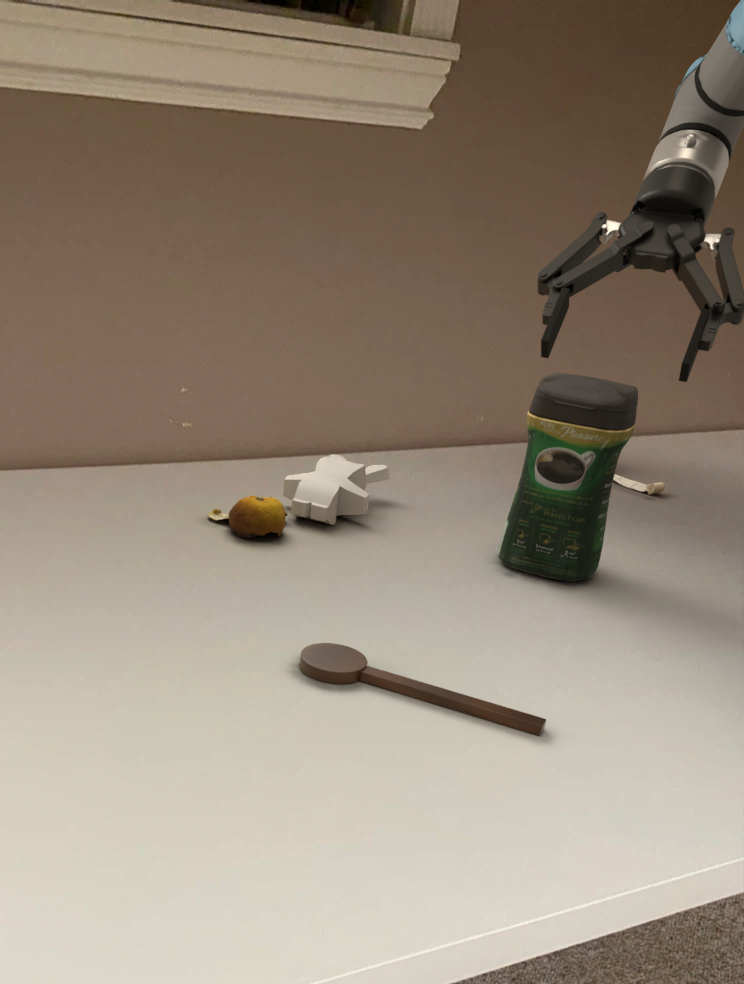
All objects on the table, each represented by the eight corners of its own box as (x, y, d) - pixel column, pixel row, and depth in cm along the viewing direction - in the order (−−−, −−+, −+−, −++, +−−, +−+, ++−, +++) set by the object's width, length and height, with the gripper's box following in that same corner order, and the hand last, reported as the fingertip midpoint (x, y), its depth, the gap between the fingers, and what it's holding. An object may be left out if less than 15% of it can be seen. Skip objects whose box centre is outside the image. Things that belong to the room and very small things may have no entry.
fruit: (279, 514, 117) (283, 481, 116) (304, 542, 110) (308, 507, 109) (204, 514, 115) (207, 480, 114) (224, 543, 108) (228, 507, 107)
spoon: (550, 718, 82) (553, 706, 81) (533, 747, 77) (536, 734, 77) (315, 648, 89) (316, 636, 88) (288, 671, 85) (289, 659, 84)
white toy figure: (268, 479, 114) (323, 435, 125) (265, 525, 117) (319, 477, 128) (353, 499, 111) (402, 451, 122) (348, 545, 114) (396, 494, 125)
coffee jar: (603, 568, 111) (654, 381, 102) (582, 591, 105) (635, 394, 96) (510, 544, 115) (552, 362, 106) (485, 565, 109) (527, 374, 100)
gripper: (558, 150, 115) (488, 315, 110) (817, 175, 105) (753, 358, 101) (557, 204, 122) (491, 362, 117) (801, 233, 112) (740, 407, 108)
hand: (612, 361), depth 109 cm, fingers open, 13 cm apart
